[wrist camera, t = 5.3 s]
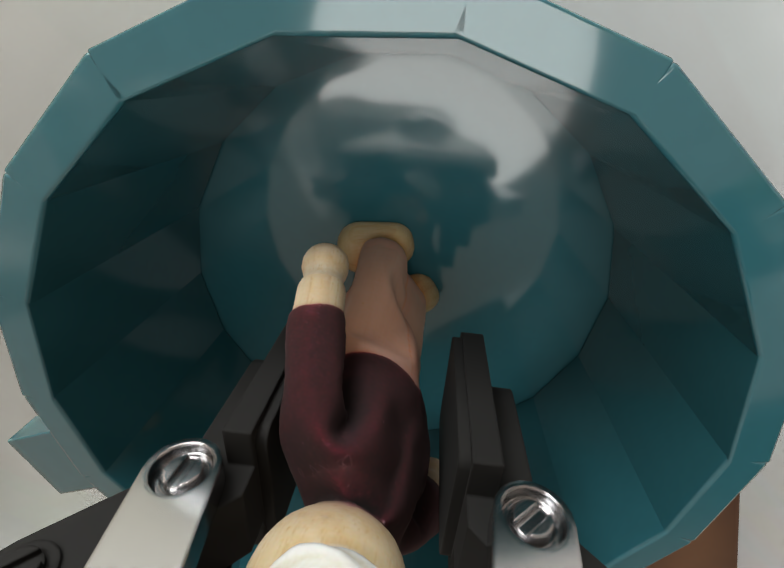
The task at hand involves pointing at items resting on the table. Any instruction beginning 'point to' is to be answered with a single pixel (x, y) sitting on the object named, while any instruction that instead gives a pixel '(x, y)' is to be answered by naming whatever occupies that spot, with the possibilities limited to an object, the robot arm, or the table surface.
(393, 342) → the grandmother figurine
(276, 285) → the pot
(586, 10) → the table surface
